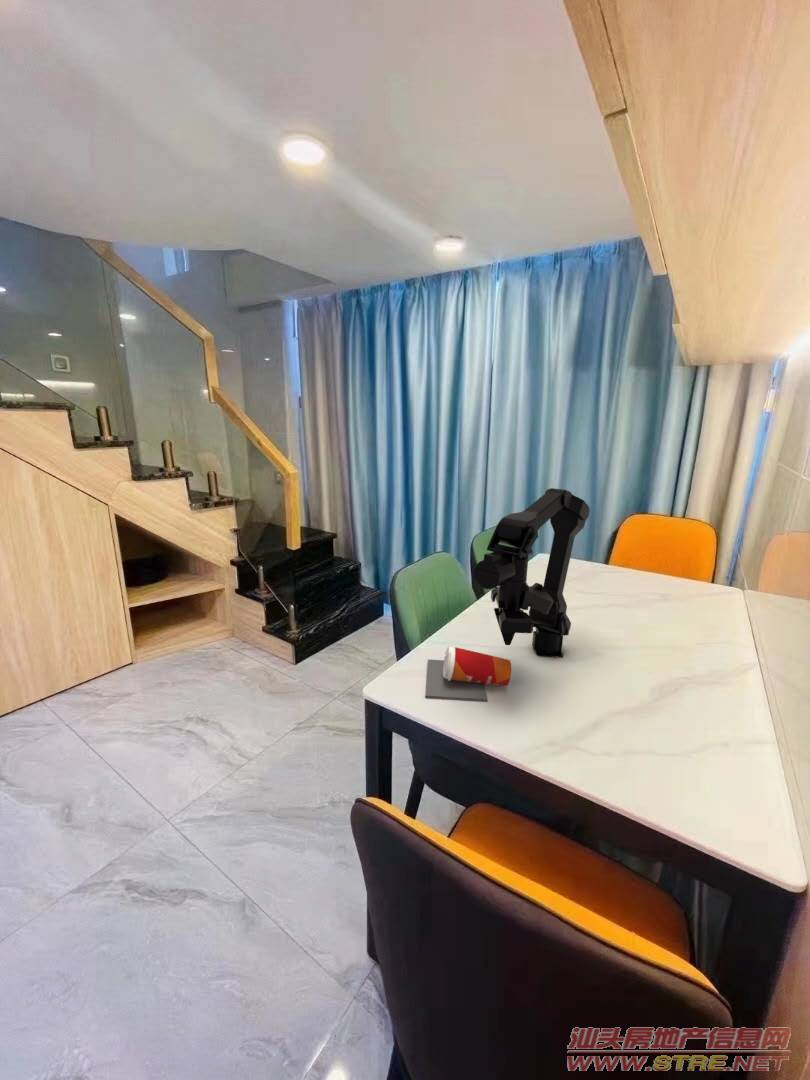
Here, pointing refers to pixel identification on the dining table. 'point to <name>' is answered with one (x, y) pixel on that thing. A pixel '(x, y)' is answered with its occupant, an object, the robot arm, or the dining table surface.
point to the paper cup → (475, 667)
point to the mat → (451, 686)
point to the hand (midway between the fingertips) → (507, 644)
